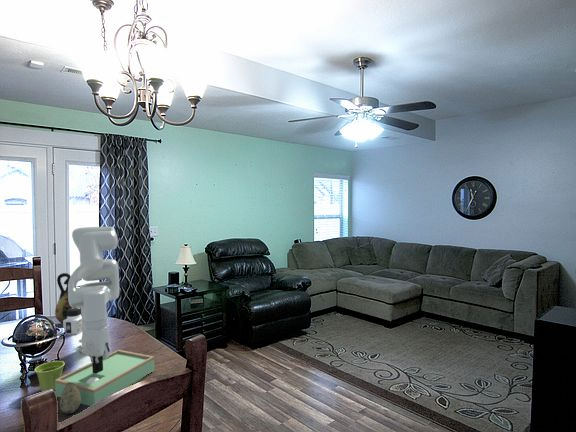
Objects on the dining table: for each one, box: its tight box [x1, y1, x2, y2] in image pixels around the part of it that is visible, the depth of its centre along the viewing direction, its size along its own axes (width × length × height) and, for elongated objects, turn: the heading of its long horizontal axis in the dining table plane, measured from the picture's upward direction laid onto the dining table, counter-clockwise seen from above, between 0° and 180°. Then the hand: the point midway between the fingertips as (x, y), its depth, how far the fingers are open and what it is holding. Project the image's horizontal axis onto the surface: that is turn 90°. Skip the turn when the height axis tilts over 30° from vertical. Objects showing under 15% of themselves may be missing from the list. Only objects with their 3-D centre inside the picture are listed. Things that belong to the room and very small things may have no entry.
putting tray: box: [54, 349, 156, 407], centre depth 138 cm, size 20×28×6 cm
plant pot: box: [34, 360, 65, 392], centre depth 135 cm, size 9×9×9 cm
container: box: [62, 308, 82, 335], centre depth 195 cm, size 8×8×13 cm
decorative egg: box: [59, 383, 81, 415], centre depth 119 cm, size 6×6×10 cm
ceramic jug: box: [54, 272, 83, 327], centre depth 208 cm, size 17×15×30 cm
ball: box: [86, 377, 99, 384], centre depth 132 cm, size 5×5×5 cm
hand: (97, 371), depth 134 cm, fingers closed
